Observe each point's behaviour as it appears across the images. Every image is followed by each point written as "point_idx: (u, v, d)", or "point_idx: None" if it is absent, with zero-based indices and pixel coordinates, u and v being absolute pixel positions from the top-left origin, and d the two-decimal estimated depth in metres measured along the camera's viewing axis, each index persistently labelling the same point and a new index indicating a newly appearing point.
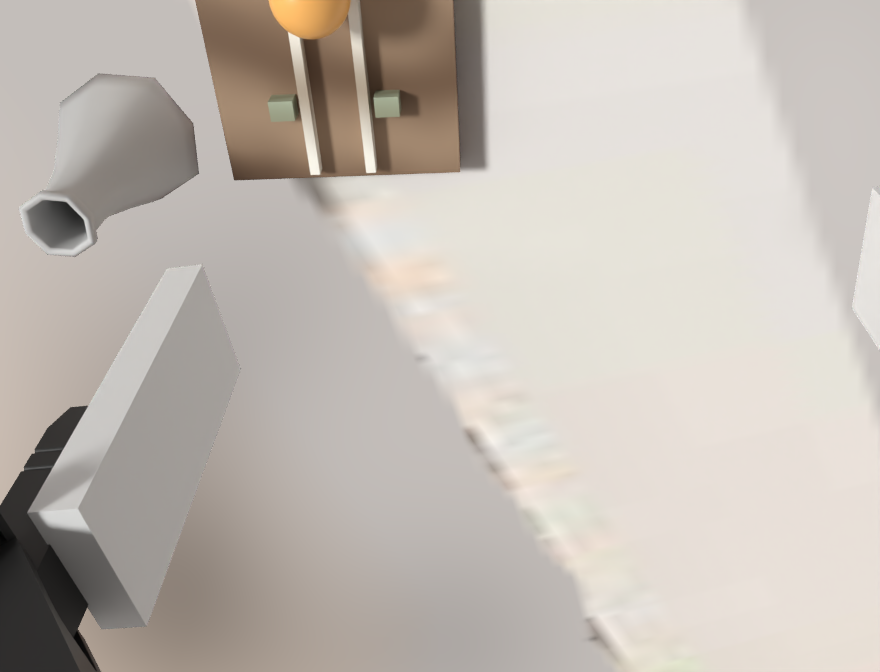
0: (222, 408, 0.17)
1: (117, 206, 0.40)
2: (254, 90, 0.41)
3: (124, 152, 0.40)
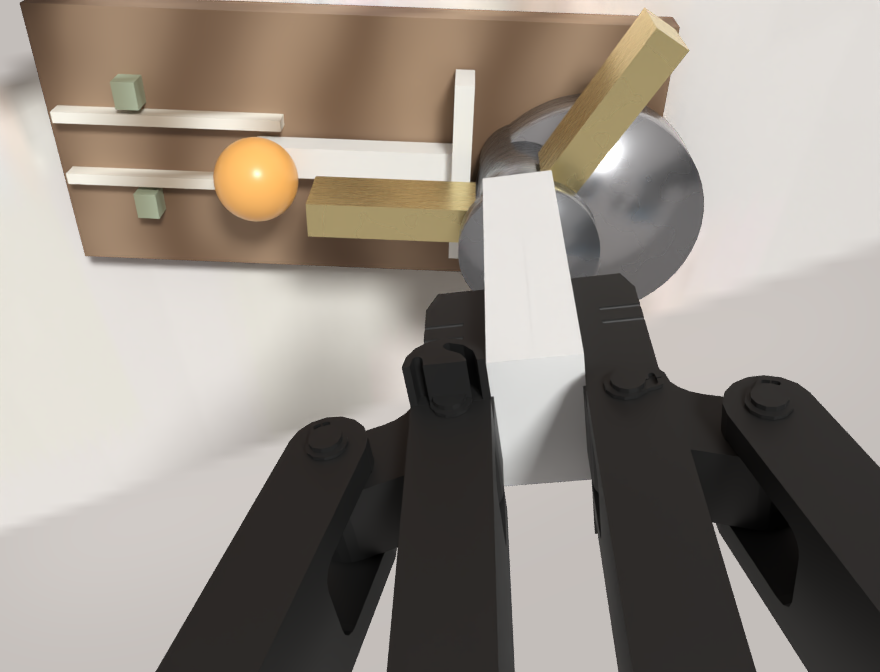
0: None
1: None
2: (143, 55, 0.35)
3: None
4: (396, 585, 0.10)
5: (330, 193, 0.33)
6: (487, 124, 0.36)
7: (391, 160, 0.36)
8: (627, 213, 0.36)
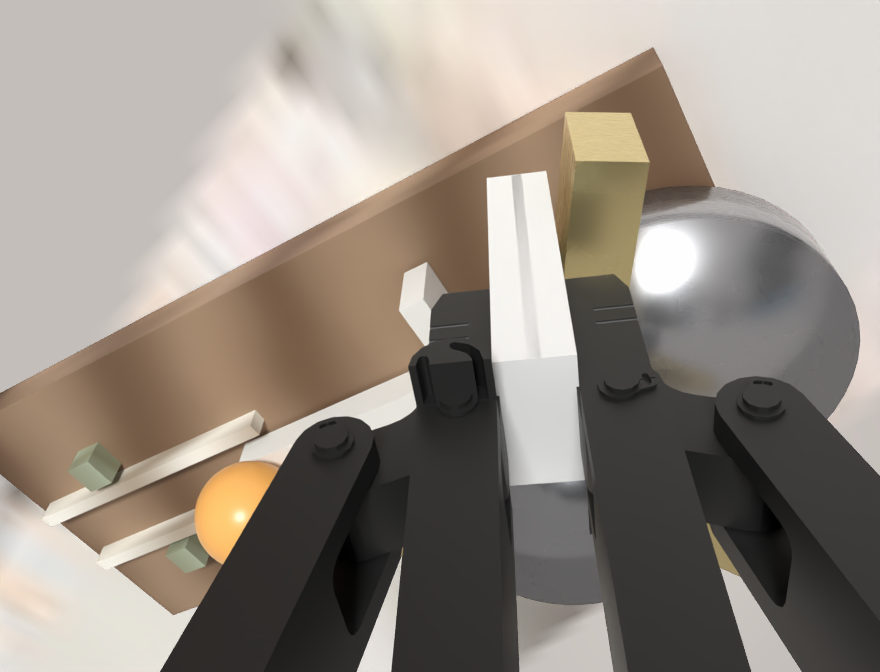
0: None
1: None
2: (87, 424, 0.29)
3: None
4: (401, 585, 0.10)
5: None
6: None
7: (392, 412, 0.27)
8: (730, 340, 0.23)
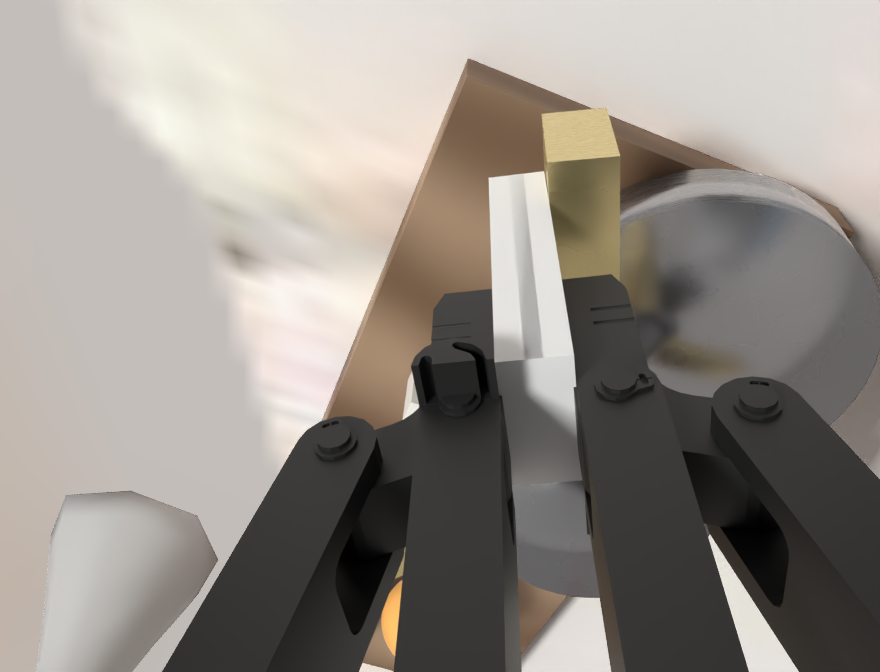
0: None
1: None
2: None
3: (138, 635, 0.32)
4: (404, 584, 0.10)
5: None
6: None
7: None
8: (747, 321, 0.23)
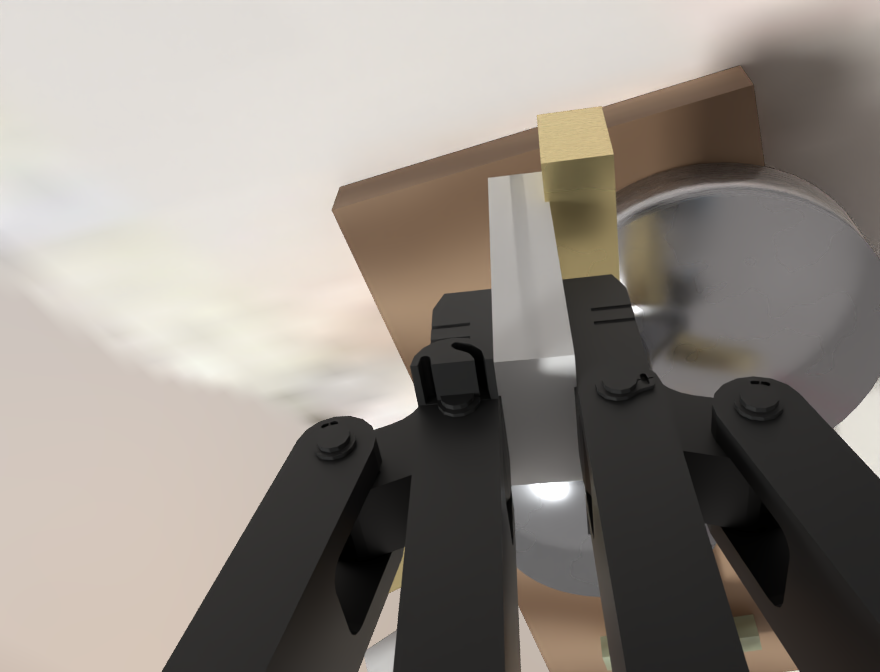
0: None
1: None
2: (580, 636, 0.36)
3: None
4: (403, 584, 0.10)
5: None
6: None
7: None
8: (757, 314, 0.23)
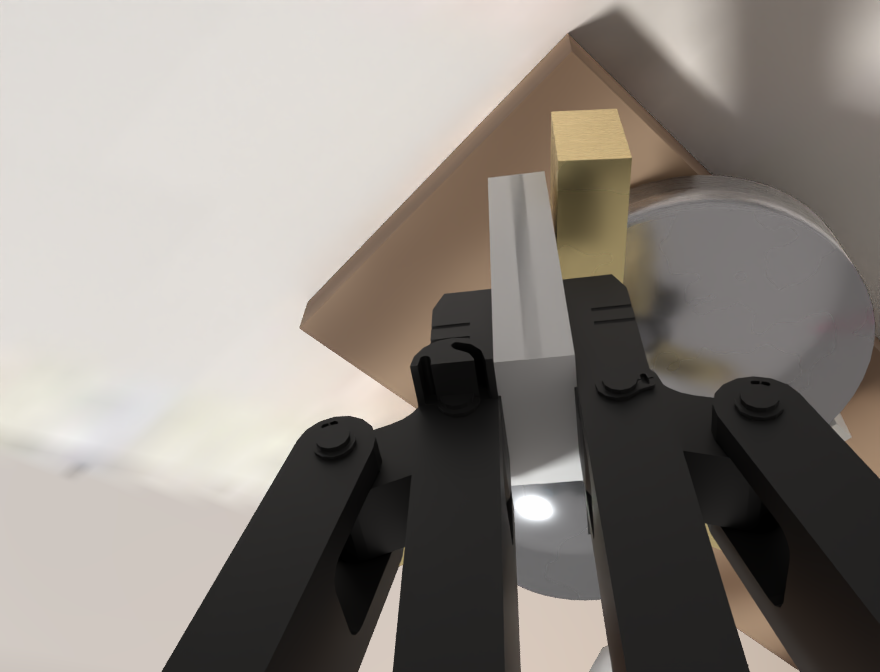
0: None
1: None
2: None
3: None
4: (402, 584, 0.10)
5: None
6: None
7: None
8: (741, 329, 0.23)
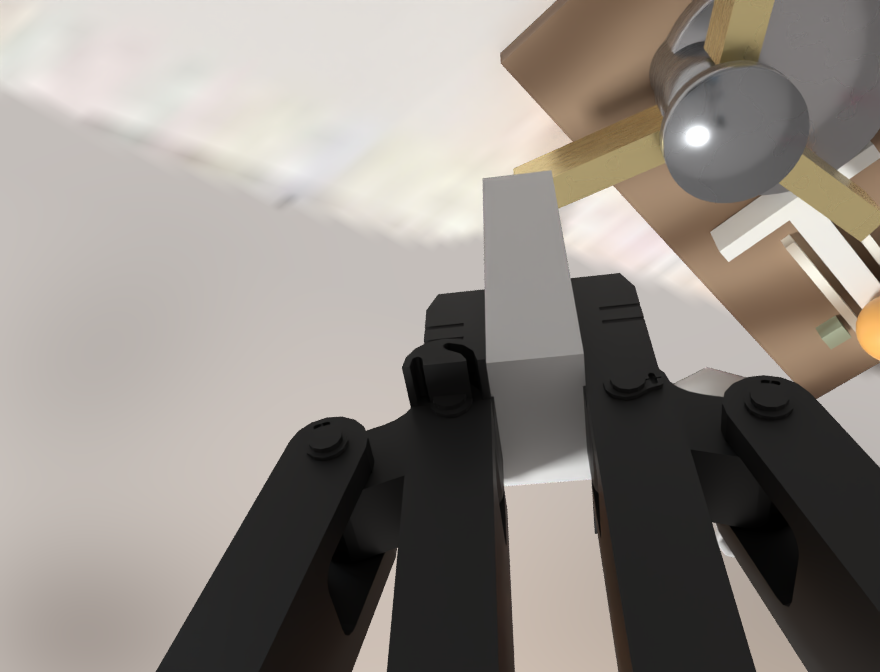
0: None
1: None
2: (799, 333, 0.46)
3: None
4: (396, 585, 0.10)
5: None
6: None
7: (819, 243, 0.41)
8: (819, 62, 0.35)
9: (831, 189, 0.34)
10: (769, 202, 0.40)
